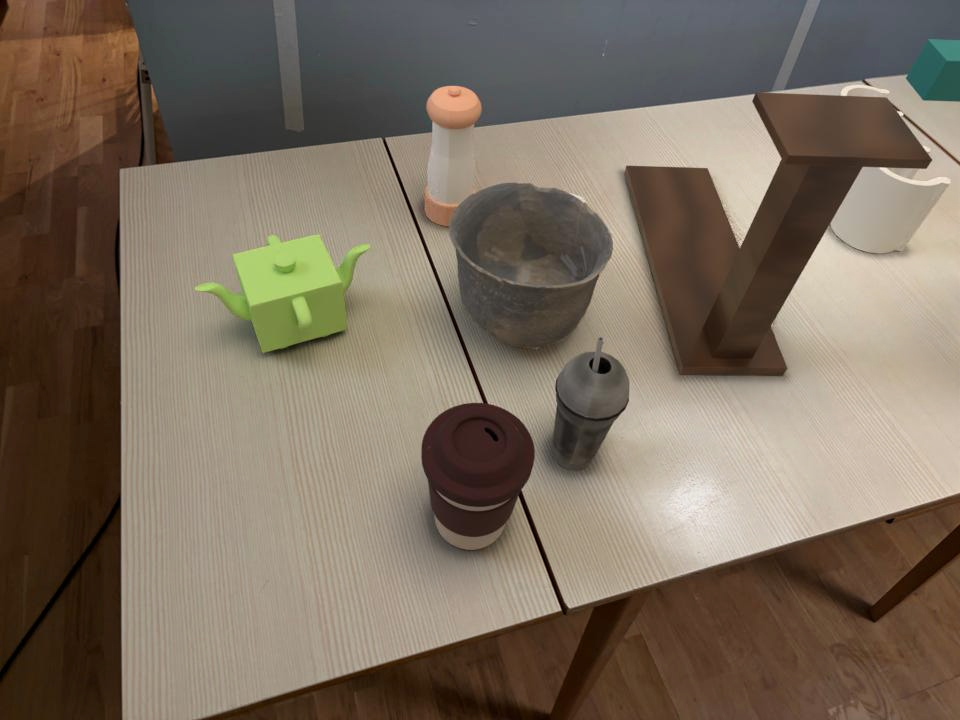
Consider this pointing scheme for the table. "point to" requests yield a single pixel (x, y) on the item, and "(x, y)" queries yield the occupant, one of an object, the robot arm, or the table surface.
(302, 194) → the table surface
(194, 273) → the table surface
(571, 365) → the beverage cup
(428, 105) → the pepper shaker
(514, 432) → the coffee cup
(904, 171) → the white rounded piece
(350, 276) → the teapot
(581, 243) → the bowl
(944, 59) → the teal block with handle
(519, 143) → the table surface
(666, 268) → the headphone stand
